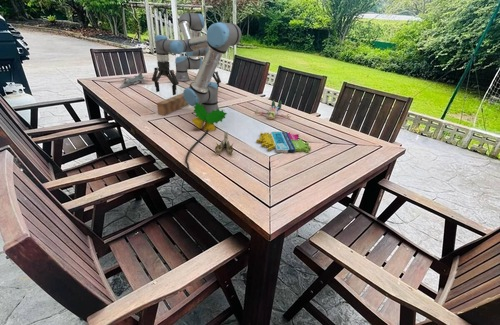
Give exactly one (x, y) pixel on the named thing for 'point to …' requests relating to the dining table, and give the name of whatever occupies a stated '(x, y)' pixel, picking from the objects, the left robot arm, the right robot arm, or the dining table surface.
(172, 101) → the post
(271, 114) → the toy
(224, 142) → the jawbone
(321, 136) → the dining table surface
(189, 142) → the dining table surface
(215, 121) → the ornament
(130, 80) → the airplane
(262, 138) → the sign
